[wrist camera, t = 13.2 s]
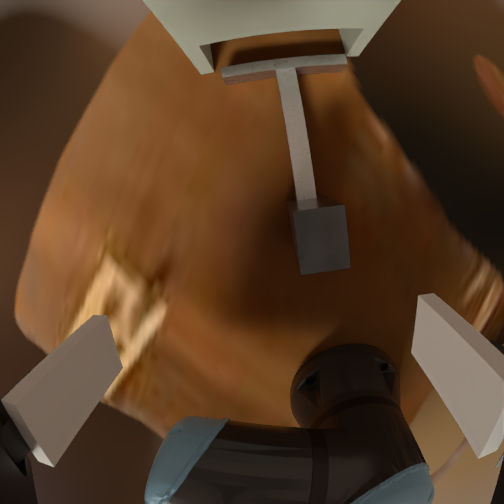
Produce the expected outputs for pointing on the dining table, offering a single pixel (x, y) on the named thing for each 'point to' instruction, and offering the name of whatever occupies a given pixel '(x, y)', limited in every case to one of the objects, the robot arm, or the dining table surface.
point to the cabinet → (266, 21)
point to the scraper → (303, 164)
